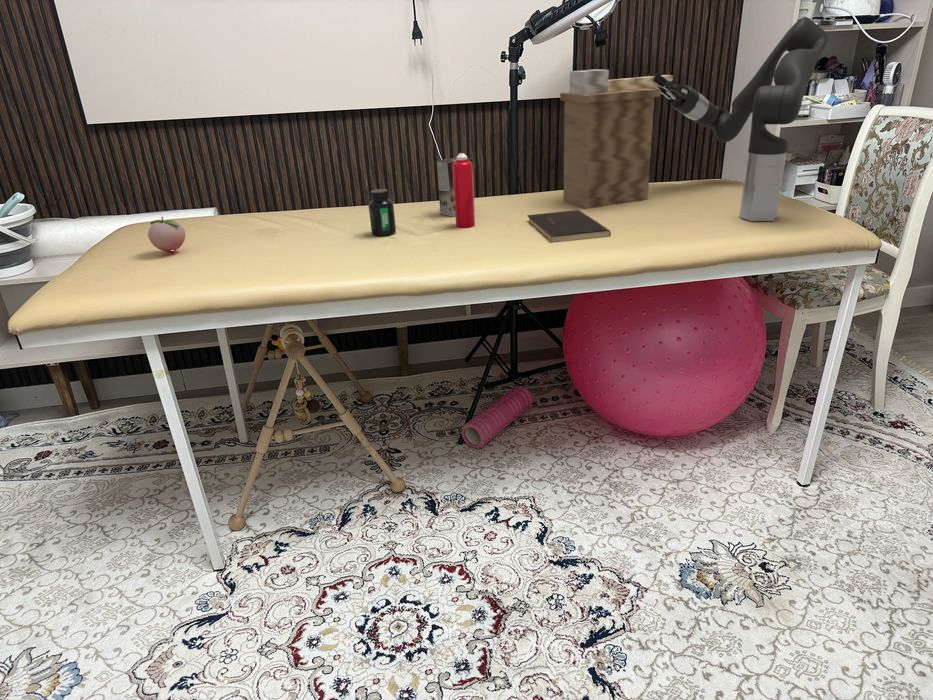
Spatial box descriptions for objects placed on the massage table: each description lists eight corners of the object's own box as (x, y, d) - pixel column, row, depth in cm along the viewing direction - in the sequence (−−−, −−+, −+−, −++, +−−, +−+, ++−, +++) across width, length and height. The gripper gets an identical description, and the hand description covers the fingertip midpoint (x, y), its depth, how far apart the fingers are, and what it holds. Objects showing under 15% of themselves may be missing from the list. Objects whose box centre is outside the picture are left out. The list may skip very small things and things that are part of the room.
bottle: (474, 222, 183) (470, 151, 175) (475, 227, 179) (472, 154, 170) (455, 223, 183) (451, 152, 175) (456, 228, 178) (452, 155, 170)
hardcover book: (551, 244, 161) (551, 235, 160) (527, 222, 182) (527, 215, 181) (610, 238, 164) (610, 229, 163) (580, 217, 184) (580, 209, 183)
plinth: (623, 190, 210) (628, 87, 196) (652, 199, 196) (660, 89, 182) (559, 199, 203) (560, 93, 189) (584, 210, 189) (587, 95, 175)
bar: (661, 85, 195) (662, 64, 193) (677, 86, 189) (679, 64, 186) (569, 93, 186) (569, 71, 183) (583, 94, 179) (583, 71, 177)
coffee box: (452, 217, 190) (449, 162, 183) (439, 214, 195) (435, 160, 188) (475, 211, 195) (473, 158, 188) (462, 208, 200) (459, 156, 193)
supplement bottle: (391, 237, 174) (387, 193, 169) (368, 236, 175) (363, 193, 170) (399, 230, 180) (394, 187, 175) (376, 230, 181) (371, 188, 176)
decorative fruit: (146, 258, 168) (135, 221, 164) (163, 249, 176) (153, 213, 171) (178, 257, 167) (168, 220, 162) (194, 248, 174) (185, 212, 170)
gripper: (681, 90, 202) (643, 64, 194) (711, 92, 190) (672, 64, 182) (670, 113, 204) (632, 87, 196) (698, 116, 192) (659, 89, 184)
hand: (651, 76), depth 189 cm, fingers closed on bar, 3 cm apart
